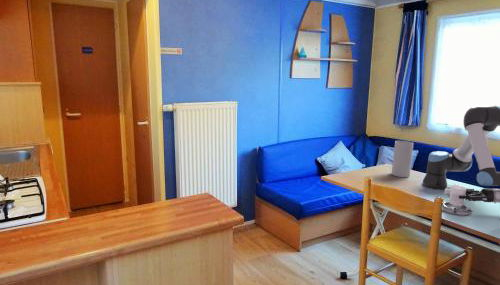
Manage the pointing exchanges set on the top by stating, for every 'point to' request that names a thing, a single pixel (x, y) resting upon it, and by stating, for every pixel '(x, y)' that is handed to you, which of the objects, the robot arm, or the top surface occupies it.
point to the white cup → (457, 190)
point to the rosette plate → (456, 209)
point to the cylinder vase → (402, 158)
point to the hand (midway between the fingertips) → (448, 193)
